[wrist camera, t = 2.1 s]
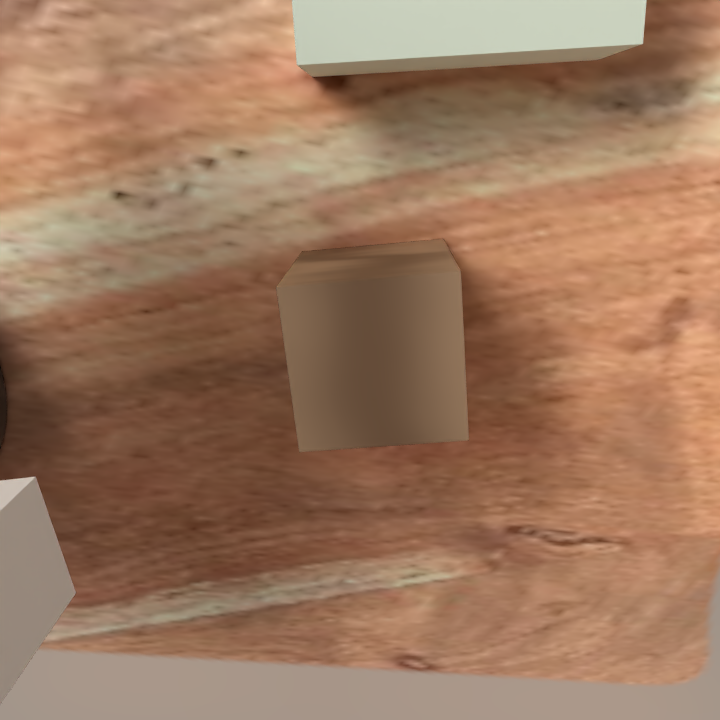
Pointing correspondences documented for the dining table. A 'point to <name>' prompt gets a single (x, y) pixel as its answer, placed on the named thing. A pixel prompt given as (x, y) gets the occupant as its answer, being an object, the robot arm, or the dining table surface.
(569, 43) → the pedestal block
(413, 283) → the walnut block
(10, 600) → the robot arm
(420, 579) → the dining table surface
